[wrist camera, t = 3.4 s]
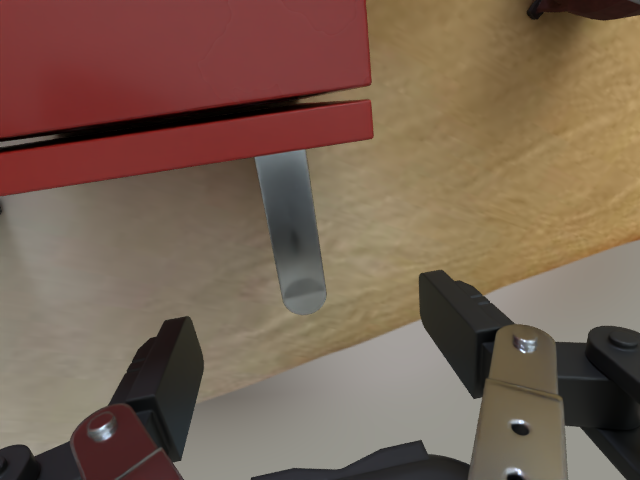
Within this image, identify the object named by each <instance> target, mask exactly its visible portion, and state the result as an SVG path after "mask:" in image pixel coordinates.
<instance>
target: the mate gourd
mask: <svg viewBox="0 0 640 480" xmlns="http://www.w3.org/2000/svg"><path fill="white" fill-rule="evenodd" d="M565 11H567V12H569V13H572V14H575V15H579V16H583V17H586V18H590V19H596V20H613V19H620V18H625V17H631V16H636V15H640V0H535V1H534V2H533V4H532V5H531V7H530V8H529V10H528V11H527V14H528V16H529V17H530V18H531V19H532V20H535V19H538V18H539V17H540V16H541V15H542V14H543V13H544V12H565Z"/></svg>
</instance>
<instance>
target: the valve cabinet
mask: <svg viewBox="0 0 640 480" xmlns="http://www.w3.org/2000/svg"><path fill="white" fill-rule="evenodd" d="M371 83H372V79H371V65H370V52H369V38H368V24H367V10H366V0H0V142H4V141H11V140H18V139H26V138H33V137H41V136H48V135H55V134H62V133H69V132H76V131H83V130H90V129H97V128H104V127H111V126H118V125H125V124H132V123H139V122H146V121H153V120H160V119H167V118H174V117H181V116H188V115H195V114H202V113H209V112H216V111H223V110H230V109H237V108H244V107H251V106H257V105H264V104H271V103H278V102H285V101H292V100H299V99H304V98H309V97H315V96H320V95H325V94H330V93H335V92H340V91H345V90H350V89H355V88H360V87H366V86H369V85H371Z"/></svg>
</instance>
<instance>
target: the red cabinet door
mask: <svg viewBox="0 0 640 480" xmlns="http://www.w3.org/2000/svg"><path fill="white" fill-rule="evenodd" d="M373 136H374V133H373V120H372V106H371V101H370V100H369V99H365V100H349V101H333V102H317V103H301V104H293V105H286V106H280V107H273V108H266V109H259V110H252V111H245V112H238V113H231V114H224V115H217V116H210V117H203V118H196V119H189V120H182V121H176V122H169V123H162V124H155V125H148V126H141V127H134V128H127V129H120V130H113V131H106V132H99V133H92V134H85V135H79V136H72V137H65V138H58V139H51V140H45V141H38V142H32V143H25V144H19V145H13V146H6V147H0V196H6V195H13V194H19V193H26V192H32V191H39V190H45V189H52V188H58V187H64V186H71V185H77V184H84V183H90V182H97V181H103V180H110V179H116V178H123V177H129V176H136V175H142V174H149V173H155V172H161V171H168V170H174V169H181V168H187V167H194V166H200V165H207V164H213V163H220V162H226V161H233V160H239V159H246V158H252V157H254V159H255V164H256V169H257V174H258V179H259V184H260V189H261V194H262V199H263V204H264V209H265V214H266V219H267V224H268V229H269V234H270V239H271V244H272V249H273V254H274V259H275V264H276V269H277V274H278V279H279V284H280V289H281V294H282V299H283V303H284V305H285V306H286V308H287V309H288V310H290V311H291V312H293V313H295V314H298V315H308V314H312V313H314V312H316V311H317V310H319V309H320V308H321V307H322V306H323V304H324V302H325V300H326V296H327V292H326V285H325V278H324V271H323V264H322V257H321V251H320V244H319V237H318V230H317V223H316V216H315V209H314V202H313V195H312V188H311V181H310V175H309V168H308V161H307V154H306V149H310V148H317V147H323V146H330V145H336V144H343V143H349V142H356V141H362V140H368V139H372V138H373Z"/></svg>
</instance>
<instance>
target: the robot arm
mask: <svg viewBox="0 0 640 480" xmlns="http://www.w3.org/2000/svg"><path fill="white" fill-rule="evenodd" d="M419 302H420V316H421V320H422V323H423V325H424V328H425V329H426V331H427V332H428V334H429V335H430V337H431V338H432V339H433V341H434V342H435V344H436V345H437V347H438V348H439V349H440V351H441V352H442V354H443V355H444V357H445V358H446V359H447V361H448V362H449V364H450V365H451V367H452V368H453V370H454V371H455V373H456V374H457V376H458V377H459V378H460V380H461V381H462V383H463V384H464V385H465V387H466V388H467V390H468V391H469V393H470V394H471V396H472V397H473V398H474V399H476V398H481V397H482V403H481V408H480V414H479V419H478V424H477V430H476V435H475V441H474V447H473V453H472V458H471V463H470V465H469V464H467V463H464V462H461V461H459V460H456V459H453V458H449V457H445V456H440V455H432V454H427V451H426V449H425V447H424V445H423V443H422V440H419V441H415V442H410V443H405V444H401V445H397V446H392V447H387V448H383V449H380V450H378V451H376V452H374V453H372V454H370V455H368V456H366V457H364V458H362V459H360V460H358V461H356V462H354V463H352V464H350V465H348V466H347V467H345V468H342V469H337V470H332V469H331V470H330V469H302V468H292V469H288V470H283V471H279V472H274V473H270V474H265V475H261V476H256V477H252V478H251V480H568V472H567V471H568V470H567V454H566V437H565V426H576V427H580V428H581V429H582V430H583V431H584V432H585V433H586V434H587V435H588V436H589V438H590V439H591V440H592V441H593V442H594V443H595V444H596V446H597V447H598V448H599V449H600V450H601V451H602V452H603V454H604V455H605V456H606V457H607V458H608V459H609V460H610V462H611V463H612V464H613V465H614V466H615V467H616V468H617V469H618V471H619V472H620V473H621V474H622V475H623V476H624V477H625V478H626V479H627V480H640V333H638V332H636V331H633V330H630V329H626V328H622V327H616V326H600V327H596V328H594V329H592V330H590V332H589V334H588V339H587V343H573V342H572V343H571V342H555V341H554V339H553V338H552V337H551V336H550V335H549V334H547V333H546V332H544V331H542V330H540V329H538V328H535V327H532V326H528V325H521V324H515V323H514V322H512V321H511V320H510V319H509V318H508V317H507V316H506V315H505V314H503V313H502V312H501V311H500V310H499V309H498V308H497V307H495V305H493V304H492V303H490V301H489V300H488V299H487V298H486V297H484V296H482V294H481V293H480V292H479V291H478V290H477V289H475V288H474V287H473V286H471V285H469V284H467V283H464V282H462V281H460V280H459V281H454V280H453V279H452V278H450V277H449V276H448V275H447V274H446V273H445V272H444V271H443V270H436V271H431V272H425V273H421V274H420V275H419ZM203 370H204V360H203V354H202V351H201V347H200V344H199V341H198V338H197V335H196V332H195V329H194V325H193V322H192V320H191V318H190V317H189V316H185V317H180V318H174V319H169V320H165V321H164V323H163V325H162V327H161V329H160V331H159V333H158V335H157V337H153V338H150V339H149V340H148V341H147V342H146V343H144V344H143V345H142V346H141V347H140V348H139V349H138V351H137V353H136V355H135V356H134V358H133V360H132V363H131V364H130V366H129V368H128V369H127V373H125V375H124V377H123V379H122V380H121V382H120V384H119V386H118V388H117V390H116V392H115V393H114V395H113V397H112V399H111V401H110V403H109V404H108V406H106V407H104V408H101V409H99V410H98V411H96V412H94V413H93V414H91V415H90V416H88V417H87V418H86V419H84V420H83V421H82V422H81V423H80V424H79V425H78V426H77V428H76V429H75V430H74V432H73V434H72V436H71V438H70V441H69V442H67V443H65V444H62V445H60V446H58V447H55V448H53V449H51V450H48V451H46V452H44V453H42V454H39V455H37V456H35V457H34V455H33V454H32V452H31V451H30V449H29V448H28V447H27V446H25V445H12V446H8V447H5V448H3V449H0V480H184V479H183V478H182V476H181V475H180V473H179V472H178V470H177V469H176V467H175V466H174V464H173V463H172V462H177V461H181V458H182V454H183V451H184V447H185V442H186V438H187V435H188V430H189V427H190V423H191V419H192V415H193V411H194V407H195V403H196V399H197V395H198V391H199V387H200V383H201V379H202V375H203Z"/></svg>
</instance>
